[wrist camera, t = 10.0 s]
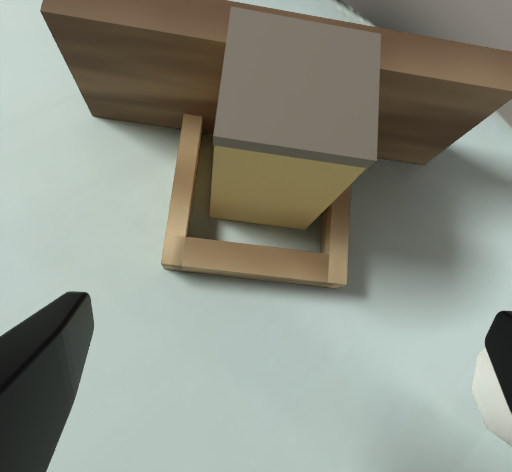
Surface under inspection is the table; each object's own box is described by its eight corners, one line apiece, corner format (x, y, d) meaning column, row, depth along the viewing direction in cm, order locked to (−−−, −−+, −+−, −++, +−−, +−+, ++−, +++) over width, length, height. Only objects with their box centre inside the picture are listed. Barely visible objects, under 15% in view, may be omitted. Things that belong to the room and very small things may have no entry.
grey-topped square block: (305, 230, 24) (376, 160, 14) (208, 218, 23) (213, 135, 14) (311, 149, 25) (380, 33, 15) (219, 135, 25) (231, 6, 15)
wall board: (424, 298, 24) (531, 281, 16) (62, 257, 22) (-14, 215, 14) (424, 135, 26) (517, 52, 19) (98, 85, 24) (51, -32, 17)
